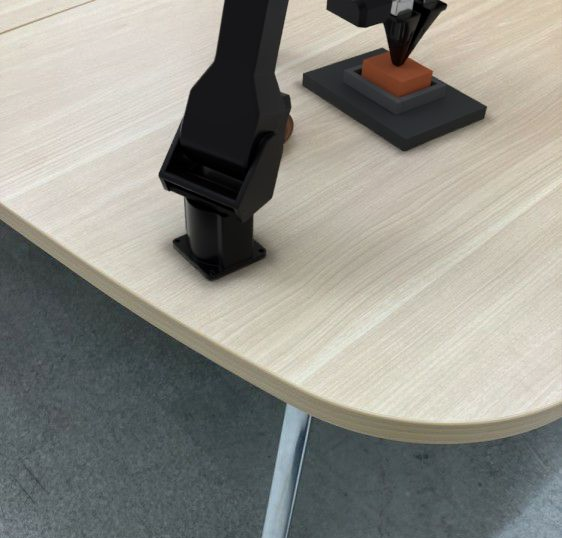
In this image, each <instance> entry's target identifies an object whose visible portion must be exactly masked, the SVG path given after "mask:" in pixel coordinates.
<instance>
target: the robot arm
mask: <svg viewBox="0 0 562 538" xmlns="http://www.w3.org/2000/svg"><path fill="white" fill-rule="evenodd" d="M289 2H290V0H223V5H222V12H221V17H220V22H219V23H220V24H219V30H218V35H217V42H216V48H215V54H214V58H213V61H212V62H211V64H210V65H209V66H208V68H206V70H204V72H203V73H202V75H201V76H199V78H198V80H197V81H196V82H195V83H194V84H193V85H192V87H191V88H190V90H189V91H188V92H189V93H188V97H187V101H186V104H185V108H184V112H183V115H182V117H181V120H180V122H179V124H178V127H177V129H176V132H175V134H174V135H173V139H172V140H171V143H170V146H169V148H168V149H167V153H166V155H165V158H164V160H163V162H162V164H161V166H160V168H159V171H158V179H159V181H160V183H161V186H162V188H163V190H164V191H167V192H172V193H174V194H177V195H179V196H182V197H183V208H184V225H185V231H186V233H185V234H183V235H180V236H178V237H175V238H173V240H172V246H173V248H174V249H176V250H177V252H179V253H180V254H181V256H183V257H184V258H185V259H186V260H187V261H188V262H189V263H190V264H191V265H192V266H193V267H194V268H195V269H196V270H197V271H198V272H200V273H201V274H202V275H203V276H204V277H205V278H206V279H207V280H210V281H212V280H217V279H218V278H221V277H223V276H225V275H227V274H229V273H232V272H234V271H236V270H238V269H241V268H244V267H245V266H247V265H250V264H252V263H254V262H256V261H259V260H261V259H263V258H265V257H266V256H267V249H266V248H265V247H264V246H263V245H261V244H260V243H259V242H258V241H257V240H256V239H254V224H255V223H254V220H255V219H254V218H255V217H254V215H255V214H257V212H259V210H261V209H262V208H263V207H264V206H265V205H266V204H268V203H269V202H270V201H271V200H272V199H273V197H274V193H275V192H274V191H275V188H276V184H277V180H278V175H279V170H280V166H281V162H282V158H283V153H284V147H285V144H284V143H285V131H286V125H287V121H288V117H289V114H290V113H291V111H292V99H291V95H290V94H289V93H285V92H282V91H281V89H280V86H279V83H278V79H277V76H276V67H277V63H278V62H277V61H278V57H279V51H280V46H281V43H282V37H283V32H284V28H285V22H286V18H287V17H286V16H287V12H288V7H289ZM447 8H448V4H447V2H445V1H442V0H326V7H325V10H326V11H328V12H330V13H331V14H333V15H335V16H337V17H339V18H341V19H342V20H344V21H345V22H347V23H350V24H351V25H353V26H355V27H357V28H361V29H367V28H371V27H374V26H377V25H381V24H382V25H383V29H384V32H385V36H386V42H387V47H388V51H389V52H390V57H391V62H392V64H393V65H395V66H397V67H399V66H401V65H403V64H404V63H405V61H406V60H407V58H408V57H409V58H410V55H411V54H412V52H413V51H414V50H415V48H416V47H417V46H418V44H419V43H420V41H421V40H422V38H423V37H424V35H425V34H426V32H428V30H429V29H430V28H431V26H432V25H433V23H435V21H436V20H437V18H438V17H439V16H440V14H441V13H442V12H444V11H446V10H447ZM290 115H291V114H290Z"/></svg>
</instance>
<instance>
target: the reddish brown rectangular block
mask: <svg viewBox="0 0 562 538" xmlns="http://www.w3.org/2000/svg"><path fill="white" fill-rule="evenodd" d="M433 73H434V71H433V70H432V69H431V68H429V67H426V65H423V64H421V63H419V62H418V61H416V60H414V59H413V58H411V57H410V56H409V57H408V58H407V60H406V61H405V63H404V64H403V65H401V66H399V67H397V66H395V65H393V64H392V62H391V57H390V52H386V53H383V54H380V55H377V56H374V57H371V58H368V59H365V60H363V67H362V75H361V76H362V77H364V78H365V79H367V80H369V81H370V82H372V83H374V84H375V85H377V86H379V87H380V88H382V89H384V90H385V91H387V92H389V93H390V94H392V95H393V96H395V97H397V98H398V99H399V98H401V97H404V96H406V95H409V94H412V93H414V92H417V91H420V90H423V89H425V88H428V87H430V85H431V80H432V76H433Z"/></svg>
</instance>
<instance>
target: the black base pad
mask: <svg viewBox="0 0 562 538" xmlns="http://www.w3.org/2000/svg"><path fill="white" fill-rule="evenodd" d="M386 52H389V49H386V48H384V47H379V48H376V49H374V50H370V51H367V52H365V53H364V52H363V53H361V54H358V55H355V56H351V57H348V58H346V59H343V60H339V61H335V62H333V63H330V64H328V65H327V64H326V65H324V66H321V67H318V68H315V69H312V70H309V71H306V72H303V73H302V84H301V85H302V86H303V87H304V88H306V89H308V90H309V91H310V92H312V93H313V94H315V95H317V96H318V97H320V98H321V99H323V100H324V101H326V102H327V103H329V104H330V105H332V106H333V107H335V108H337V109H338V110H339V111H341V112H343V113H344V114H346V115H348V116H349V117H351V118H352V119H354V121H356V122H358V123H360V124H361V125H362V126H364V127H366V128H368V129H369V130H370V131H371V132H374V133H375V134H376V135H378V136H380V137H381V138H383V139H384V140H386V141H388V142H389V143H391V144H392V145H393V146H395V147H397V148H398V149H400V150H401V151H403V152H405V151H408V150H411V149H413V148H416V147H418V146H420V145H423V144H425V143H427V142H431V141H432V140H435V139H437V138H440V137H443V136H445V135H448V134H450V133H452V132H455V131H457V130H459V129H462V128H464V127H467V126H469V125H471V124H475V123H477V122H478V121H482V120H483V119H485V118H486V114H487V110H488V106H487V105H485V104H484V103H482V102H481V101H478V100H477V99H475V98H474V97H471V96H469V95H467V94H466V93H464V92H462V91H461V90H459V89H457V88H456V87H453V86H452V85H450V84H448V83H446V82H444V81H443V80H441V79H439V78H437V77H436V76H434V75H432V80H431V85H430V87H428V88H425V89H423V90H420V91H417V92H414V93H412V94H409V95H406V96H404V97H401V98H399V99H398V98H397V97H395V96H393V95H392V94H390V93H389V92H387V91H385V90H384V89H382V88H380V87H379V86H377V85H375V84H374V83H372V82H370V81H369V80H367V79H365V78H364V77H362V76H361V75H362V67H363V60H365V59H368V58H371V57H374V56H377V55H380V54H383V53H386Z"/></svg>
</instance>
